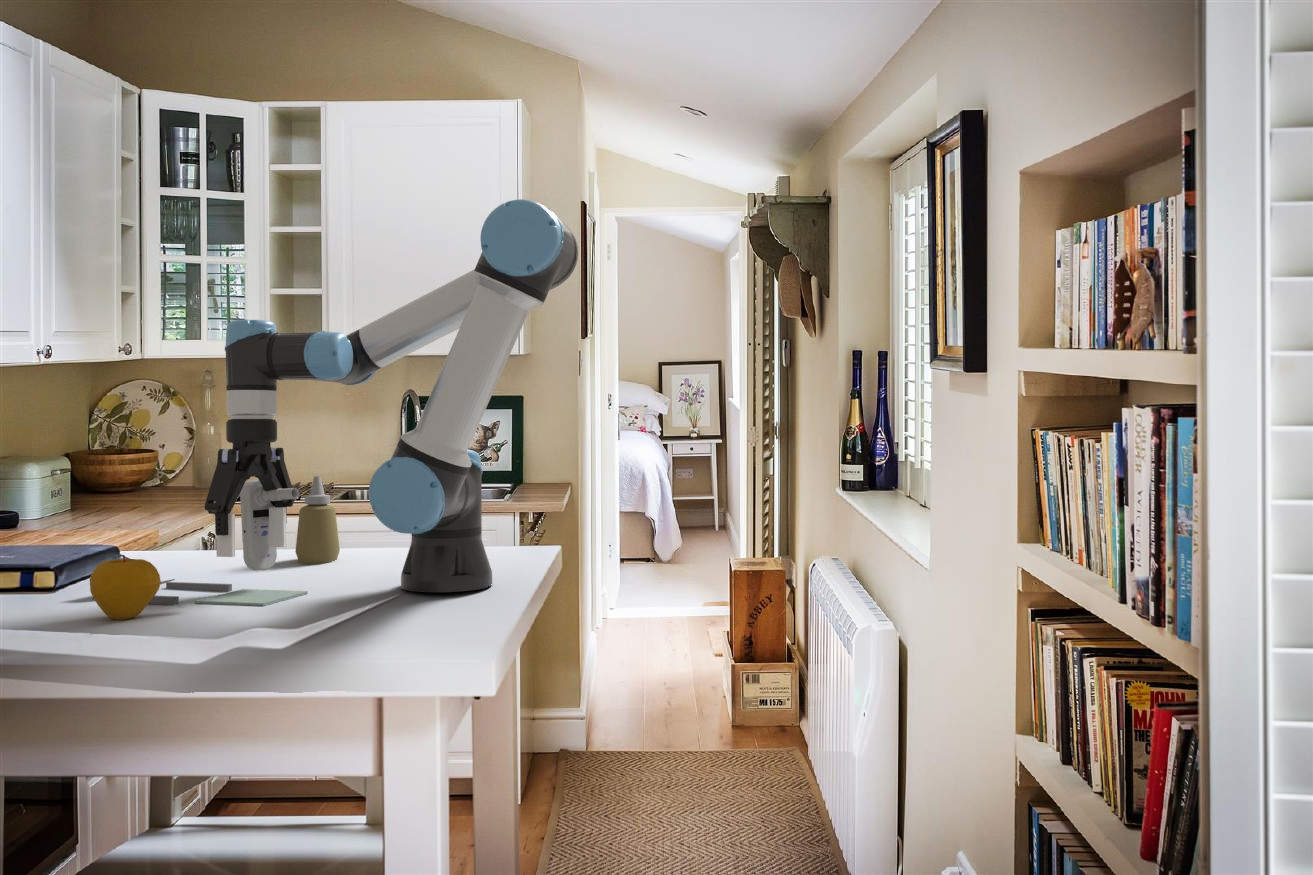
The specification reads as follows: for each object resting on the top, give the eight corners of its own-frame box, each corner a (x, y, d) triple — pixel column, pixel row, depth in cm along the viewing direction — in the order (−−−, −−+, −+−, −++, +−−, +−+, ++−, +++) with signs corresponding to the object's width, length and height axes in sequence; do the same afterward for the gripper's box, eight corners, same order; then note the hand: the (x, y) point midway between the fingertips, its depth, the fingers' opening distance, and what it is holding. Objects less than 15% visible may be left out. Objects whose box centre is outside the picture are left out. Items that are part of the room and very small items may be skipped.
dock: (252, 586, 174) (252, 562, 174) (175, 604, 156) (175, 578, 155) (166, 583, 178) (166, 560, 178) (81, 601, 159) (80, 575, 159)
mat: (307, 593, 166) (307, 591, 166) (263, 605, 154) (263, 603, 154) (242, 591, 169) (242, 588, 169) (194, 603, 157) (194, 600, 157)
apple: (174, 613, 148) (173, 552, 148) (129, 624, 139) (129, 559, 139) (121, 611, 150) (121, 550, 150) (74, 622, 142) (73, 558, 141)
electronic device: (286, 571, 162) (281, 477, 163) (241, 572, 166) (236, 480, 167) (310, 567, 167) (306, 476, 167) (266, 568, 171) (261, 479, 171)
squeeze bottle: (307, 567, 199) (307, 475, 199) (347, 567, 198) (346, 475, 198) (287, 572, 191) (286, 477, 191) (328, 573, 190) (327, 477, 190)
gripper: (276, 419, 174) (277, 542, 174) (177, 417, 150) (179, 560, 150) (316, 418, 173) (317, 543, 173) (222, 416, 148) (223, 561, 148)
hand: (252, 551), depth 161 cm, fingers open, 13 cm apart
